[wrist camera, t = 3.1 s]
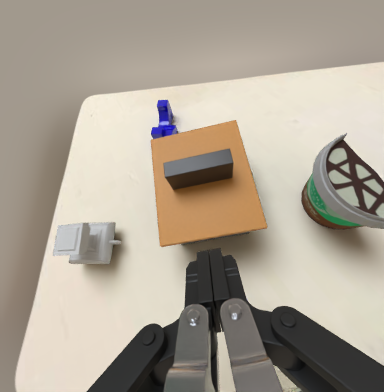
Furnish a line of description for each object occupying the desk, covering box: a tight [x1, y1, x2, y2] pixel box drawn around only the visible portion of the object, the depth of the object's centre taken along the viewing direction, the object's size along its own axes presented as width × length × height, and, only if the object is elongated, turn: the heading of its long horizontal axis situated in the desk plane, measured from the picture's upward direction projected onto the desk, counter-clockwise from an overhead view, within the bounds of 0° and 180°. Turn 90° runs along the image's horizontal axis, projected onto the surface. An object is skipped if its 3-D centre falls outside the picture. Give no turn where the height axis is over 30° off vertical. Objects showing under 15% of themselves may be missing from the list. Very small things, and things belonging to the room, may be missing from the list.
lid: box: [151, 120, 267, 247], centre depth 25 cm, size 16×13×5 cm
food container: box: [302, 133, 384, 229], centre depth 27 cm, size 12×6×10 cm, turn 22°
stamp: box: [53, 222, 121, 264], centre depth 31 cm, size 9×7×8 cm
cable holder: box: [151, 100, 177, 139], centre depth 39 cm, size 8×4×4 cm, turn 173°
